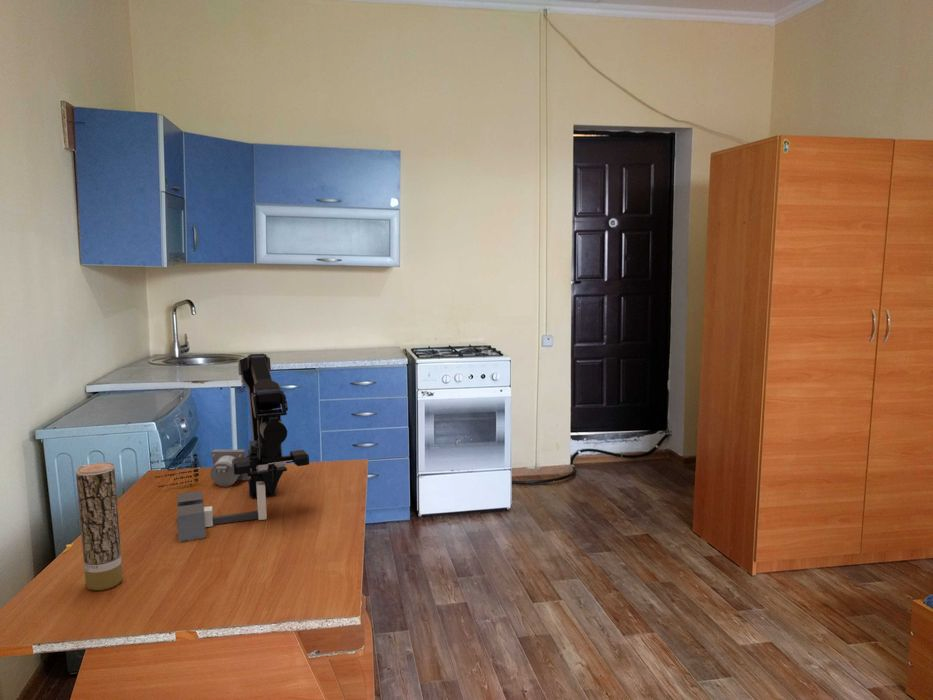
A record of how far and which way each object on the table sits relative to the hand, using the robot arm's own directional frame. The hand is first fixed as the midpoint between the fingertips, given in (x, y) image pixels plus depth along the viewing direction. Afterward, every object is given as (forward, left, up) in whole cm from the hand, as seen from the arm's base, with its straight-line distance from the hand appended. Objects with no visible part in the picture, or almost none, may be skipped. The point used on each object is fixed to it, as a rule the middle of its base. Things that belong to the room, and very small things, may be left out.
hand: (272, 493), depth 173 cm
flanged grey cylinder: (+16, -32, -6) cm, 36 cm away
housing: (+20, 0, -6) cm, 21 cm away
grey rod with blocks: (+10, 0, -6) cm, 12 cm away
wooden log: (+37, +24, -6) cm, 44 cm away
